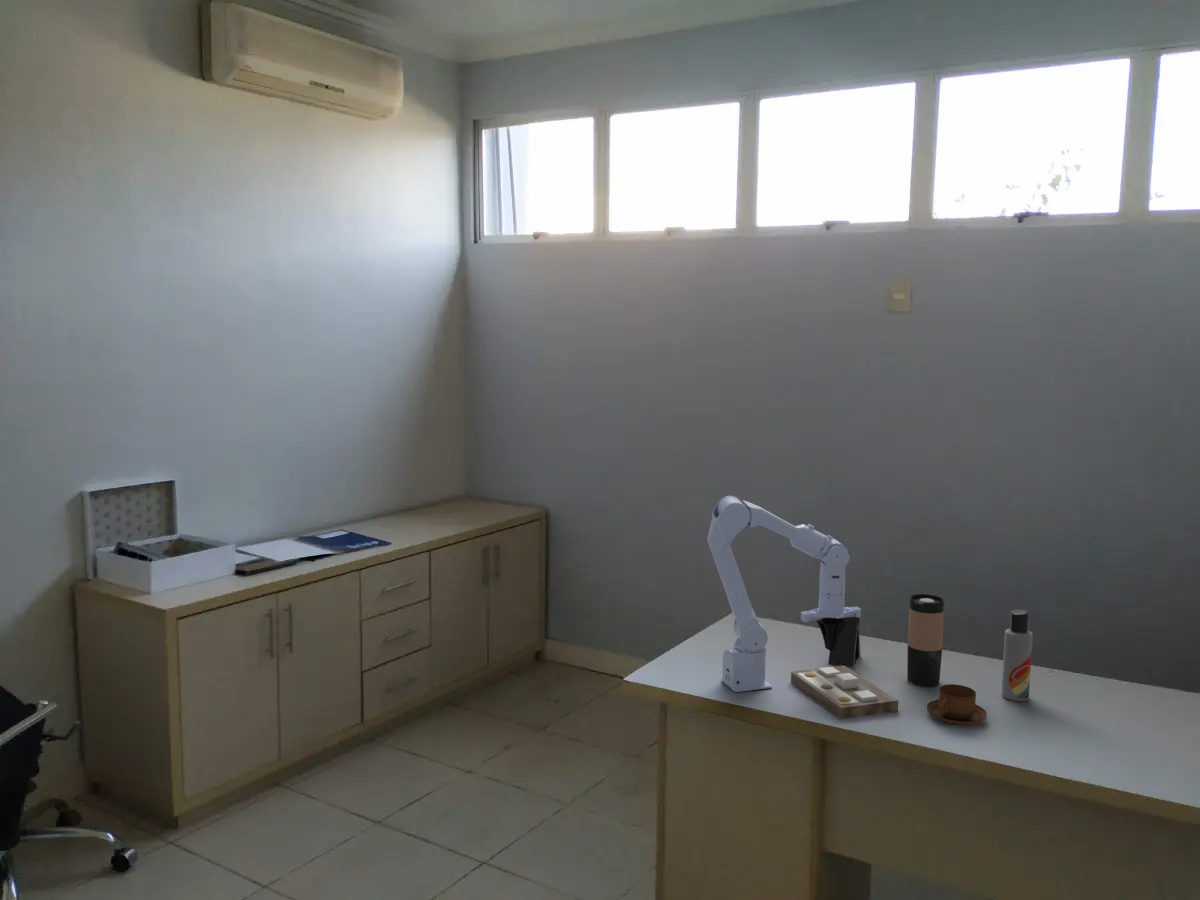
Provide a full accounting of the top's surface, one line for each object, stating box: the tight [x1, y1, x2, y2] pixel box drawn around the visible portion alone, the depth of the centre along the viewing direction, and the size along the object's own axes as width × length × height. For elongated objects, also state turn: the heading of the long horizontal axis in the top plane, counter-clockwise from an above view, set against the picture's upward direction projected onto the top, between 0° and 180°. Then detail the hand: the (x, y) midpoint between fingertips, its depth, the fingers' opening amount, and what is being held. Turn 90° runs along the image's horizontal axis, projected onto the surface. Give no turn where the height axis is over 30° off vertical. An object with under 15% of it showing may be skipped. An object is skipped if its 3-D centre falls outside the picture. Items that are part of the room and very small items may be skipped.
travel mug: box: [906, 593, 945, 688], centre depth 219 cm, size 8×8×20 cm
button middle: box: [835, 673, 858, 689], centre depth 211 cm, size 4×4×3 cm
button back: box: [818, 666, 840, 677], centre depth 218 cm, size 4×4×3 cm
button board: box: [790, 665, 899, 720], centre depth 211 cm, size 14×22×3 cm, turn 17°
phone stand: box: [828, 617, 861, 668], centre depth 234 cm, size 9×6×12 cm, turn 153°
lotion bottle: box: [1001, 609, 1034, 702], centre depth 210 cm, size 6×6×20 cm
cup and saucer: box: [926, 683, 988, 726], centre depth 199 cm, size 12×12×6 cm
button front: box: [853, 690, 877, 702], centre depth 204 cm, size 4×4×3 cm
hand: (829, 648), depth 218 cm, fingers closed
